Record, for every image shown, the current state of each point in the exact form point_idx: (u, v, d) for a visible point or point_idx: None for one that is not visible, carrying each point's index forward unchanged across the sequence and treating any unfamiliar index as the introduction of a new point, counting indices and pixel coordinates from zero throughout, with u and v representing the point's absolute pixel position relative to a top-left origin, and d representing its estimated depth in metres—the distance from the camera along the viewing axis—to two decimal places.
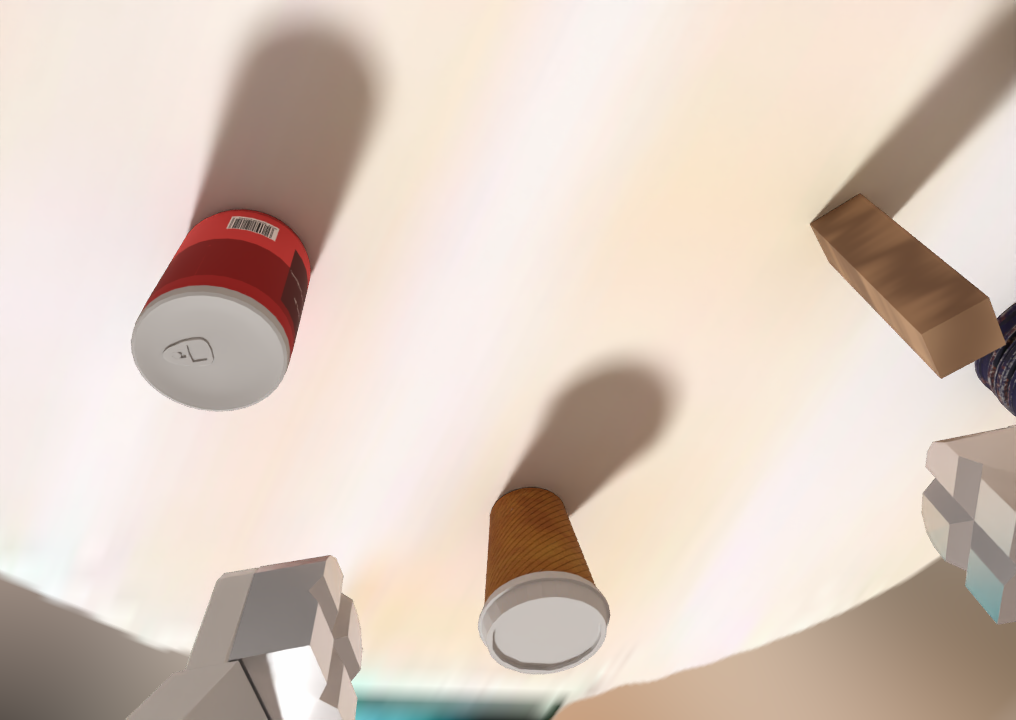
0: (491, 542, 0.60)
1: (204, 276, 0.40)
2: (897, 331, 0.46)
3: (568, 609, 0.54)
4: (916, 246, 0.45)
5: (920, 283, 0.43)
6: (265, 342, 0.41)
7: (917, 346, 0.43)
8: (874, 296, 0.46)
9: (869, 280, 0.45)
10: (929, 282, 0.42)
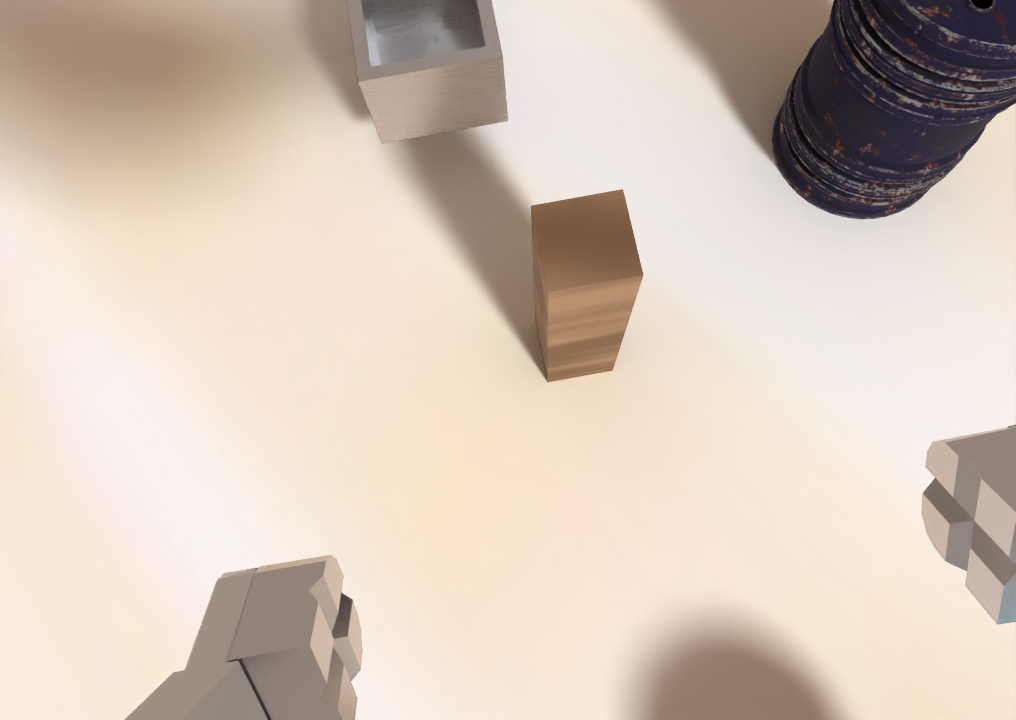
0: None
1: None
2: (622, 315, 0.33)
3: None
4: (534, 274, 0.36)
5: (539, 280, 0.33)
6: None
7: (606, 296, 0.31)
8: (577, 333, 0.35)
9: (547, 336, 0.35)
10: (538, 269, 0.33)
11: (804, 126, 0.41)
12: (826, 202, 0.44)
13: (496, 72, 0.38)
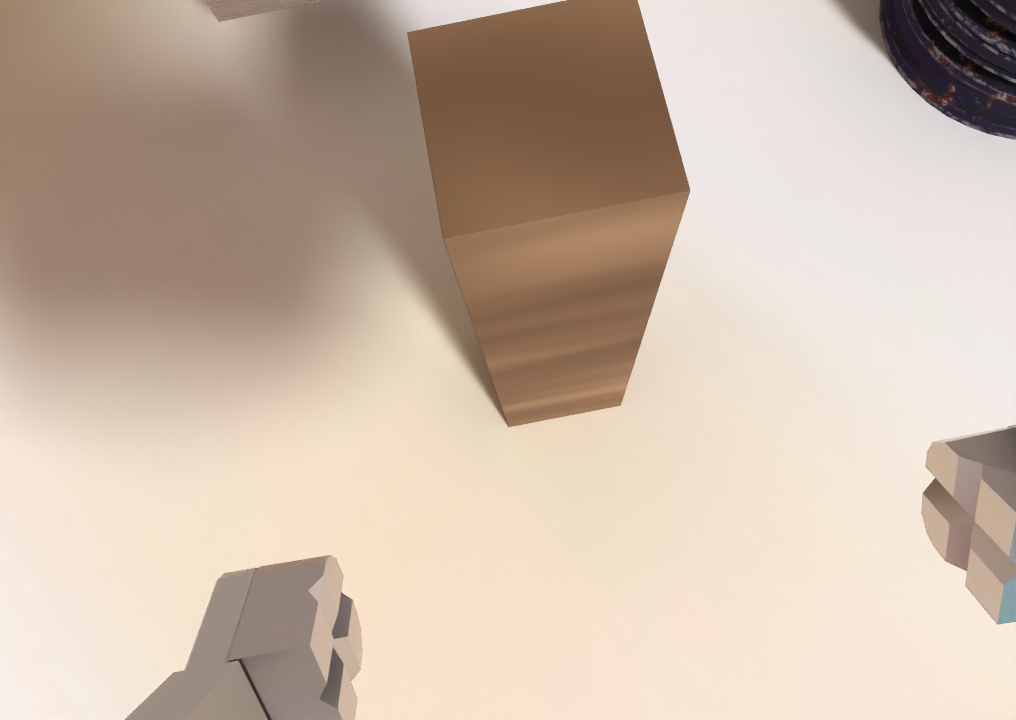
0: None
1: None
2: (636, 302, 0.15)
3: None
4: None
5: None
6: None
7: (598, 255, 0.13)
8: (544, 343, 0.17)
9: (482, 349, 0.17)
10: None
11: None
12: (982, 112, 0.26)
13: None
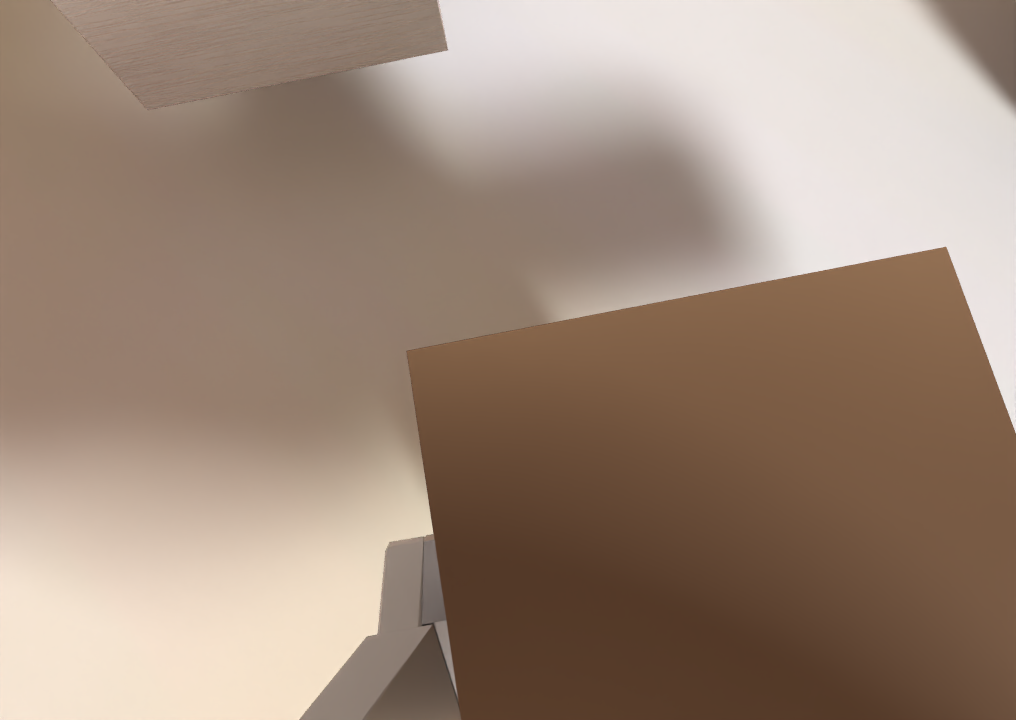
0: None
1: None
2: None
3: None
4: None
5: None
6: None
7: None
8: None
9: None
10: None
11: None
12: None
13: None
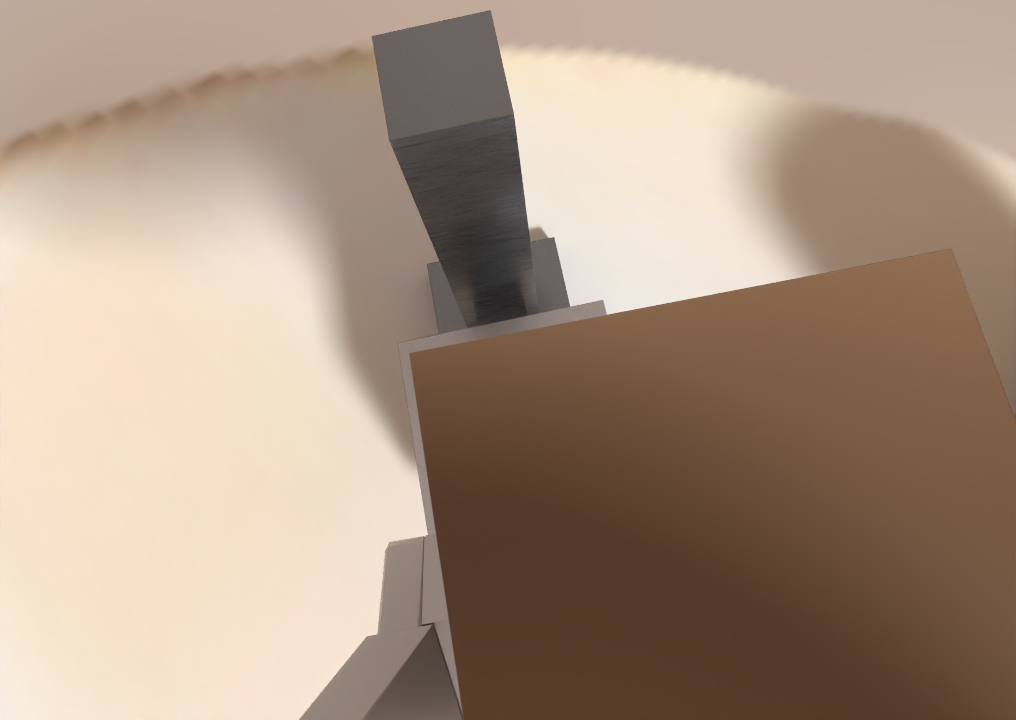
0: None
1: None
2: None
3: None
4: None
5: None
6: None
7: None
8: None
9: None
10: None
11: None
12: None
13: None
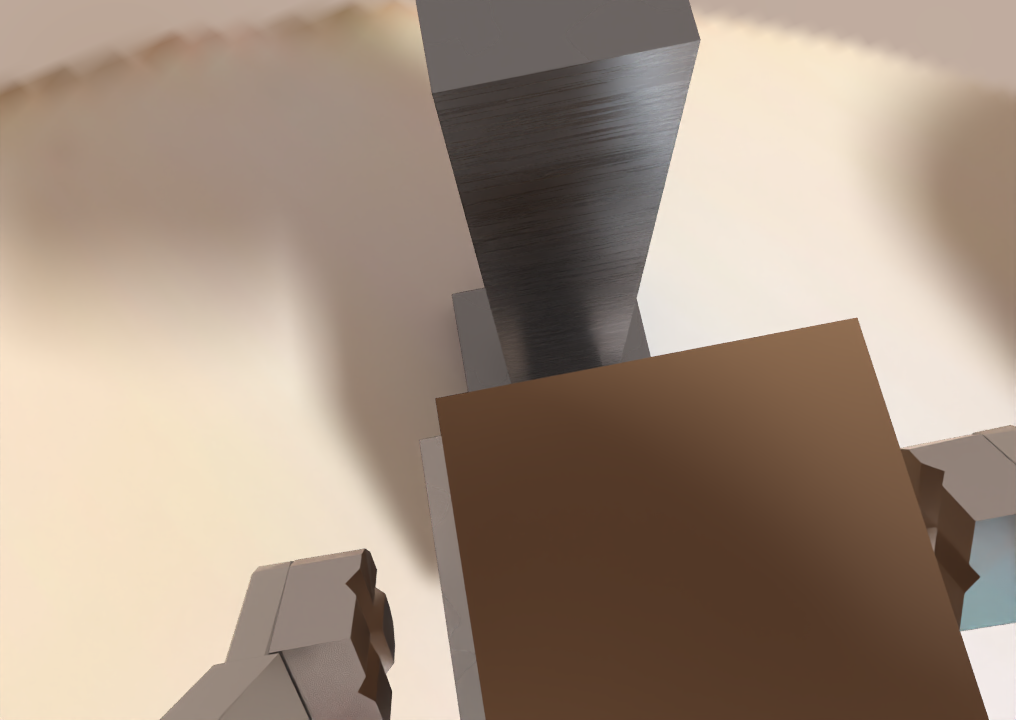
0: None
1: None
2: None
3: None
4: None
5: None
6: None
7: None
8: None
9: None
10: None
11: None
12: None
13: None
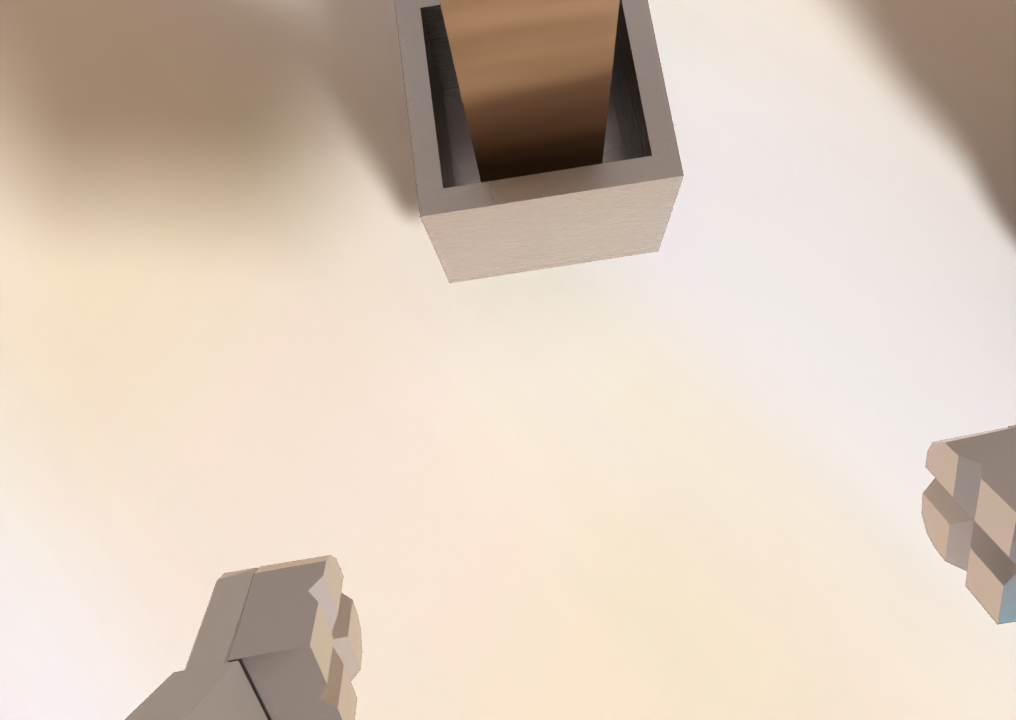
0: None
1: None
2: (601, 3, 0.16)
3: None
4: None
5: None
6: None
7: None
8: (514, 62, 0.17)
9: (454, 65, 0.17)
10: None
11: None
12: None
13: (663, 196, 0.21)
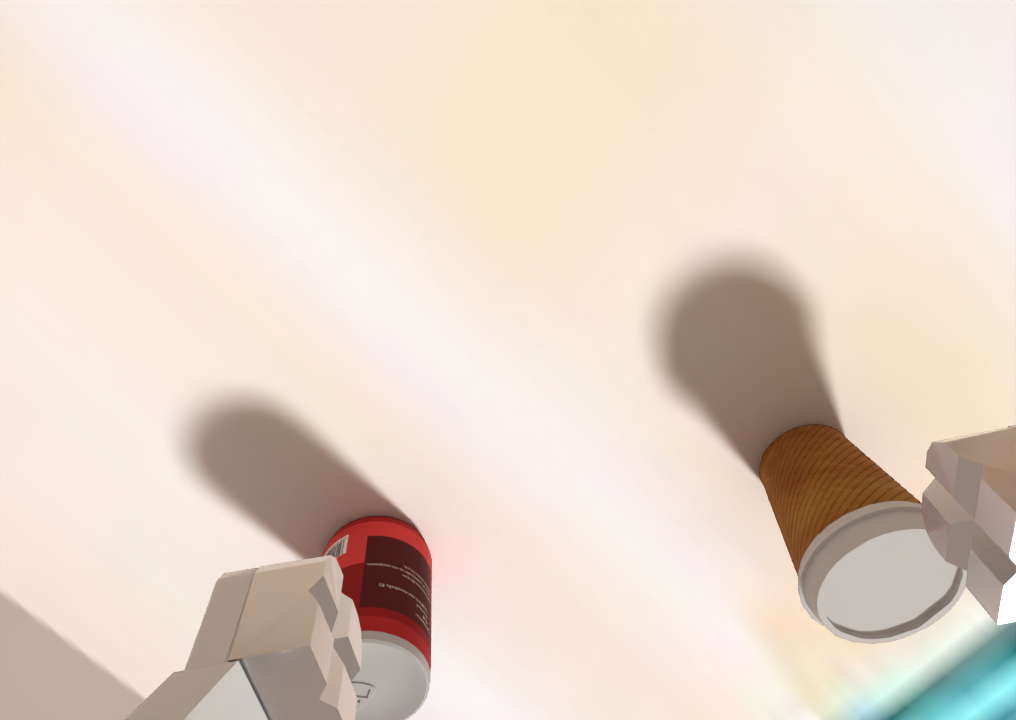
0: None
1: None
2: None
3: (872, 553, 0.42)
4: None
5: None
6: (374, 649, 0.44)
7: None
8: None
9: None
10: None
11: None
12: None
13: None
